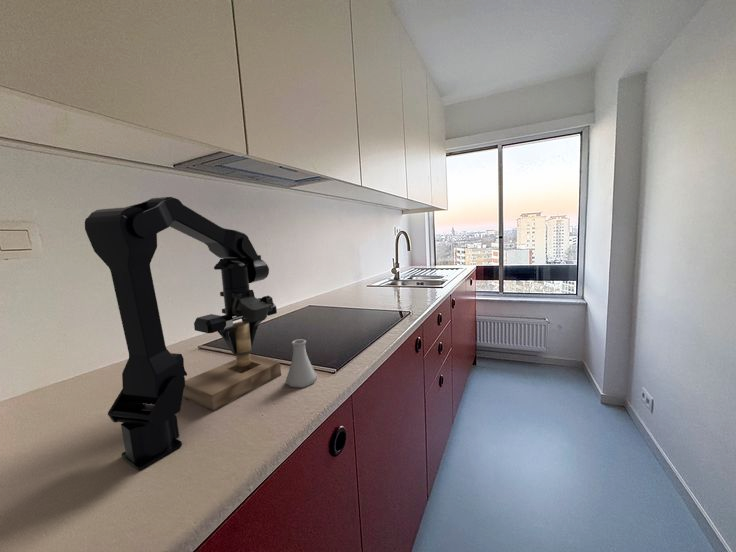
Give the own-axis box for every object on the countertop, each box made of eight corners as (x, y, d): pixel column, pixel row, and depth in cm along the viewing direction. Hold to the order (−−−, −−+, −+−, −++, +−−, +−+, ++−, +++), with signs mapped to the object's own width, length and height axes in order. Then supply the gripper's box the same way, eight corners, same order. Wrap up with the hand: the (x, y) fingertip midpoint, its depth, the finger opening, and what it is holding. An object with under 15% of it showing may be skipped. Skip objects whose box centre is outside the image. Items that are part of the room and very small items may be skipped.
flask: (279, 385, 72) (276, 344, 70) (299, 372, 78) (297, 334, 77) (303, 391, 68) (300, 348, 67) (322, 377, 75) (320, 338, 73)
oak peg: (230, 365, 74) (226, 325, 72) (245, 359, 77) (242, 320, 76) (241, 368, 71) (237, 327, 70) (256, 362, 75) (253, 322, 74)
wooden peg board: (213, 411, 62) (212, 395, 61) (182, 397, 68) (180, 382, 67) (281, 375, 77) (280, 361, 76) (250, 366, 83) (249, 353, 83)
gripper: (220, 296, 60) (228, 371, 62) (289, 282, 76) (294, 342, 78) (188, 293, 66) (197, 362, 68) (259, 280, 81) (264, 336, 83)
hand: (242, 350), depth 74 cm, fingers closed on oak peg, 4 cm apart
